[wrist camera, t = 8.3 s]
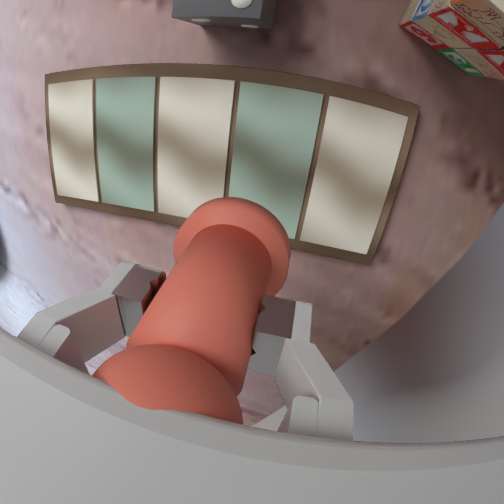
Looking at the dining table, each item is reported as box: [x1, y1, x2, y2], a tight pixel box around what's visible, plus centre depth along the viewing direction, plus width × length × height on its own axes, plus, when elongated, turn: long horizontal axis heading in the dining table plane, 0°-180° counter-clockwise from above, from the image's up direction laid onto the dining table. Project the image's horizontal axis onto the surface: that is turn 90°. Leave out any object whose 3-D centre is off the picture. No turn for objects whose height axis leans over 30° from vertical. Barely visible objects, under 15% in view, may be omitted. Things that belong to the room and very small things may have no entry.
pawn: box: [92, 197, 291, 425], centre depth 9 cm, size 4×4×10 cm
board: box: [45, 63, 420, 265], centre depth 22 cm, size 13×30×1 cm, turn 83°
